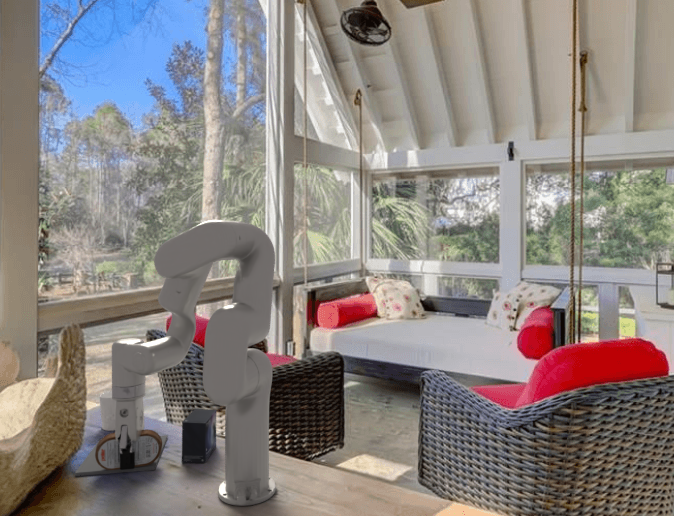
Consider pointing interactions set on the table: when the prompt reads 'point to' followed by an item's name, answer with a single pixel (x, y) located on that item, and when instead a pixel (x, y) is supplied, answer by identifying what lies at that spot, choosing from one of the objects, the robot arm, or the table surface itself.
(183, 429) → the small box
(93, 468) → the mat
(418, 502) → the table surface
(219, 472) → the table surface
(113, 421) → the white cup
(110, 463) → the tin
